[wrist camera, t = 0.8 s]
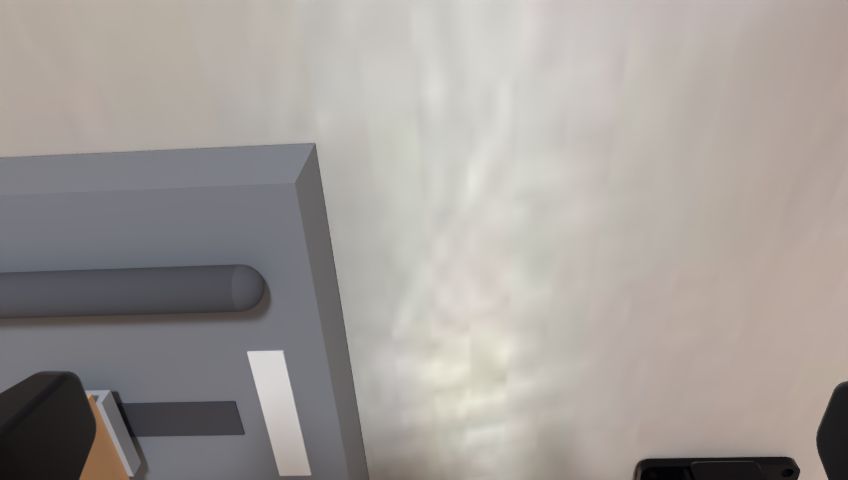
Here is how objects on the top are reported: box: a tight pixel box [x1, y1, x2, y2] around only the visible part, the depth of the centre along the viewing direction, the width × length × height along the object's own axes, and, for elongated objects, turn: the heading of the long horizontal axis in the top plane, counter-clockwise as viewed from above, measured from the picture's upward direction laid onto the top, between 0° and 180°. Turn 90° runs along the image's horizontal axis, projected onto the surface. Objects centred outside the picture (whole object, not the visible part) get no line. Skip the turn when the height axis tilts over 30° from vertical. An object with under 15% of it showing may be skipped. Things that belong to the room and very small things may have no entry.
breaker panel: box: [0, 143, 369, 480], centre depth 24 cm, size 18×24×3 cm
